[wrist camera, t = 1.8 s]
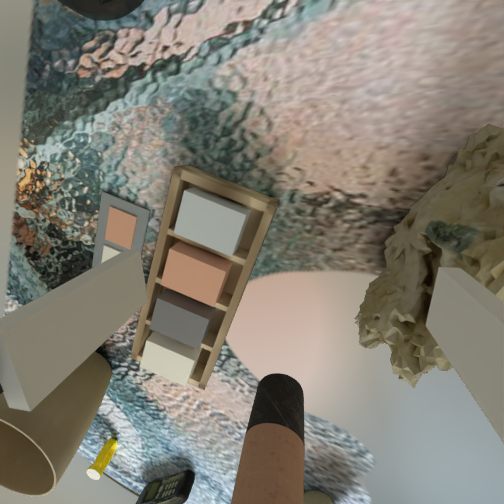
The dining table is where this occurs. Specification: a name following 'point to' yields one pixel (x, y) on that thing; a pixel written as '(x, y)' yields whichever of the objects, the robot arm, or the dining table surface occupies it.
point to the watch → (102, 459)
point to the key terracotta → (195, 273)
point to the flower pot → (316, 498)
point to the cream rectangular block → (169, 358)
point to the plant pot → (50, 429)
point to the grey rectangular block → (182, 318)
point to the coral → (438, 255)
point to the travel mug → (273, 445)
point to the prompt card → (119, 228)
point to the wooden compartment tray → (241, 258)
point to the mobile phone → (168, 489)
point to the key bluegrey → (211, 220)
